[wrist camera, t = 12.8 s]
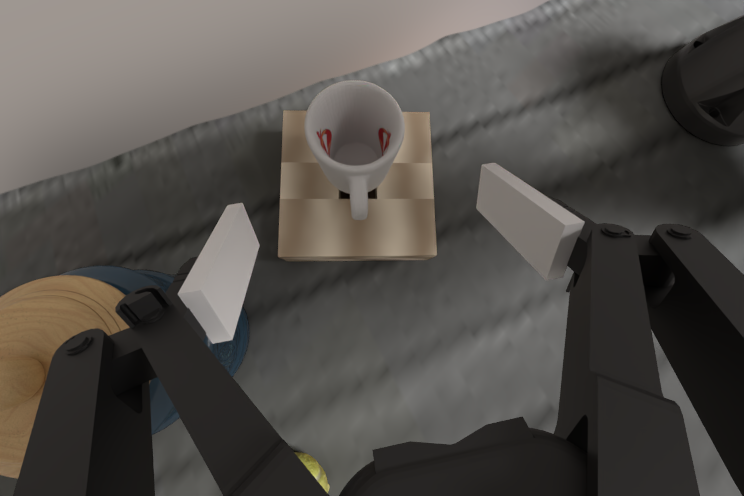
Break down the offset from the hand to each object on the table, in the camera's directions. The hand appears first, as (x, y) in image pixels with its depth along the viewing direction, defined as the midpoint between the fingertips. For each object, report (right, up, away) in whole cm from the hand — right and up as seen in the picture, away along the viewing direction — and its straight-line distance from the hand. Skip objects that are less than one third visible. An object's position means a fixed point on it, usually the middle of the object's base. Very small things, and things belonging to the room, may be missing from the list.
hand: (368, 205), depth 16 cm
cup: (-1, +5, +14) cm, 15 cm away
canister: (-19, -12, +15) cm, 27 cm away
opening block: (-1, +4, +18) cm, 19 cm away
